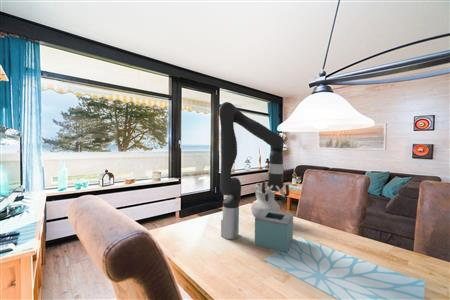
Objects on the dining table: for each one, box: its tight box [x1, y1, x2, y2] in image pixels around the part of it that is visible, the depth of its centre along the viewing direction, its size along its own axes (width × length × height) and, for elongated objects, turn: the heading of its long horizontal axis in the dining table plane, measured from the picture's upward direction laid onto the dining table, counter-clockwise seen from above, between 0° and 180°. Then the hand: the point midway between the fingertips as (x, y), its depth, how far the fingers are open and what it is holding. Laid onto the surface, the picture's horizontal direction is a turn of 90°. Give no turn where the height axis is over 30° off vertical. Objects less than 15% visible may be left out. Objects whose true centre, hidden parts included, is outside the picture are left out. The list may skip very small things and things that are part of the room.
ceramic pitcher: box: [250, 182, 281, 219], centre depth 141 cm, size 22×20×25 cm
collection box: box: [254, 209, 294, 254], centre depth 111 cm, size 16×16×14 cm
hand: (275, 202), depth 111 cm, fingers open, 8 cm apart
